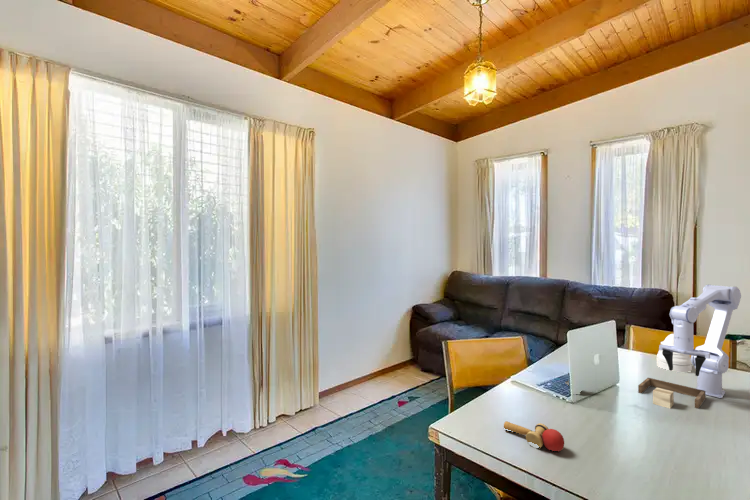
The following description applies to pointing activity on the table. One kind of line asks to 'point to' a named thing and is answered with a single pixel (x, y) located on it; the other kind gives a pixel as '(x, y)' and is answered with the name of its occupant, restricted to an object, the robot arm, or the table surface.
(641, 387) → the open walnut frame
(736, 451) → the table surface
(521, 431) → the kendama
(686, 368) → the honey pot
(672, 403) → the maple block
